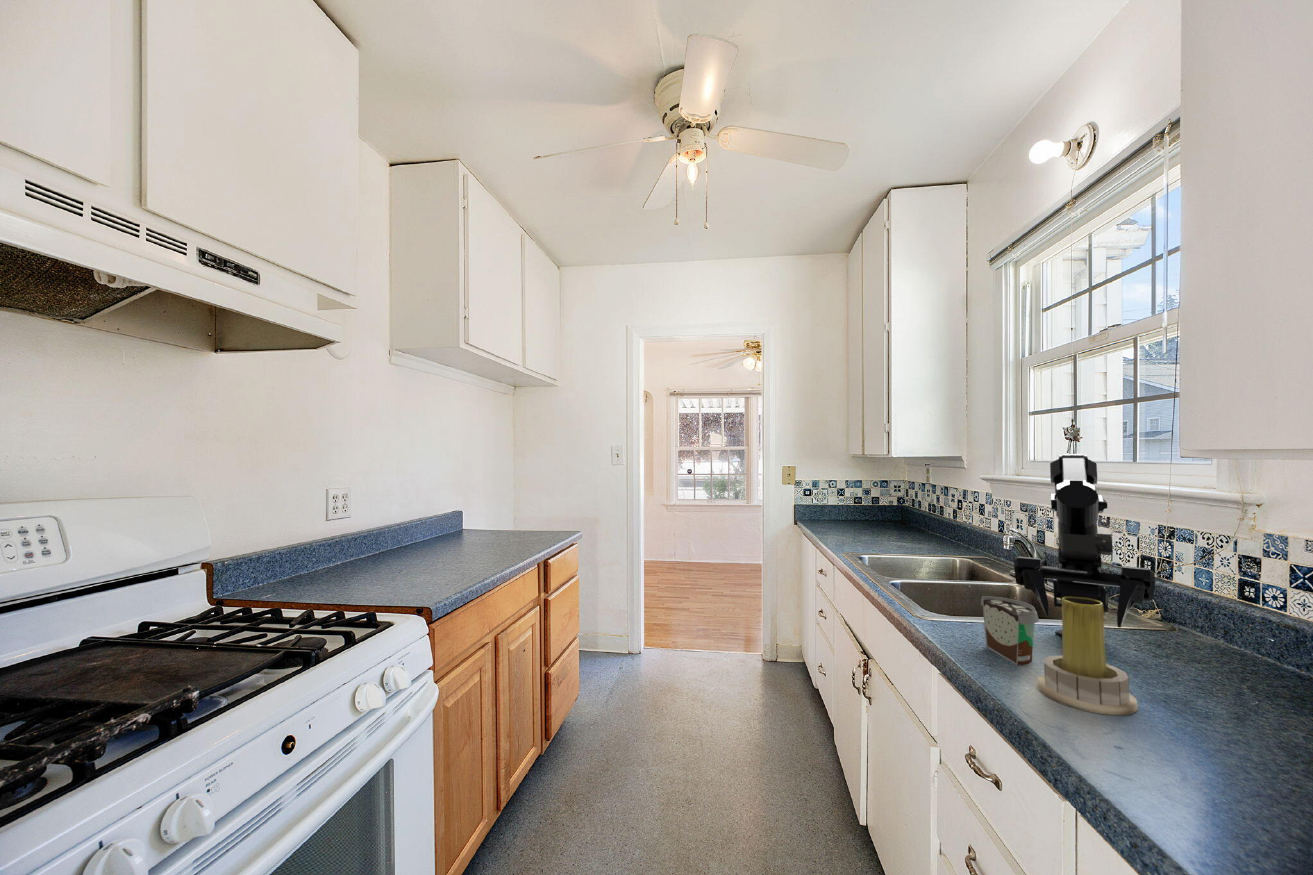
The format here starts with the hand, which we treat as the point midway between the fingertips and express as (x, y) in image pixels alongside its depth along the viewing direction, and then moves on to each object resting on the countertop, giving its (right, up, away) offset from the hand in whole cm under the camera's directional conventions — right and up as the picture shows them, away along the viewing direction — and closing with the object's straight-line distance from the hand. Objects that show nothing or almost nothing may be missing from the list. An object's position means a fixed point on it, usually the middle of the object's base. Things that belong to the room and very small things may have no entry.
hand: (1082, 620), depth 86 cm
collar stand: (-1, -12, -2) cm, 12 cm away
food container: (0, -12, +15) cm, 20 cm away
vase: (-1, -11, -2) cm, 11 cm away
